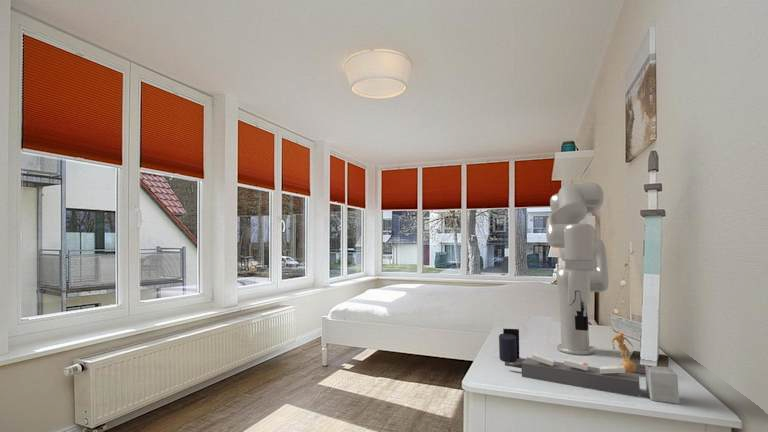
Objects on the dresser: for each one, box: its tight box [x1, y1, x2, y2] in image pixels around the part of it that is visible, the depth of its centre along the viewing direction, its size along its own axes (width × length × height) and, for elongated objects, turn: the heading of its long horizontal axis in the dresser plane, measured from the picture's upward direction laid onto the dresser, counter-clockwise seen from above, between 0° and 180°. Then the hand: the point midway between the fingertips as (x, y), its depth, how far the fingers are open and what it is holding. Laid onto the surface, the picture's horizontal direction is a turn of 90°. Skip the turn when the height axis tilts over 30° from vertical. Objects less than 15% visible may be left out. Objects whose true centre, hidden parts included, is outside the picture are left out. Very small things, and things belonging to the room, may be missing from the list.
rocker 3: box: [599, 364, 626, 374], centre depth 109 cm, size 3×6×1 cm, turn 56°
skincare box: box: [644, 365, 680, 404], centre depth 103 cm, size 6×6×7 cm
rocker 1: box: [531, 352, 556, 366], centre depth 119 cm, size 3×6×1 cm, turn 56°
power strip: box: [504, 357, 641, 398], centre depth 117 cm, size 7×36×4 cm, turn 56°
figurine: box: [611, 332, 637, 373], centre depth 124 cm, size 8×6×12 cm
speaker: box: [498, 328, 520, 363], centre depth 138 cm, size 8×6×10 cm
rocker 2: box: [563, 357, 590, 370], centre depth 114 cm, size 3×6×1 cm, turn 56°
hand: (581, 329), depth 115 cm, fingers closed
